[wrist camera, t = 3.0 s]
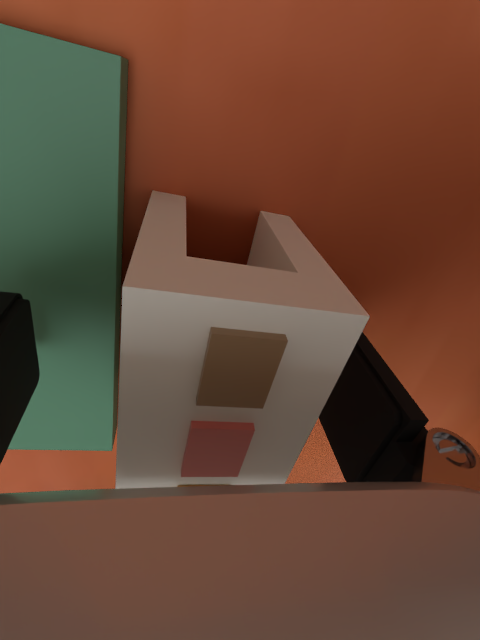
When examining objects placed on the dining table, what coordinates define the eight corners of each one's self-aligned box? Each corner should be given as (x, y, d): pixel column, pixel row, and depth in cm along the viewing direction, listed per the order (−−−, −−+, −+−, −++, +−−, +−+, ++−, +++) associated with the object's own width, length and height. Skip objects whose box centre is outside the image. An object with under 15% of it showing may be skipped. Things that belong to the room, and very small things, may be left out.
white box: (288, 215, 11) (375, 322, 6) (237, 387, 15) (263, 534, 10) (152, 189, 10) (120, 292, 5) (138, 381, 14) (112, 540, 9)
